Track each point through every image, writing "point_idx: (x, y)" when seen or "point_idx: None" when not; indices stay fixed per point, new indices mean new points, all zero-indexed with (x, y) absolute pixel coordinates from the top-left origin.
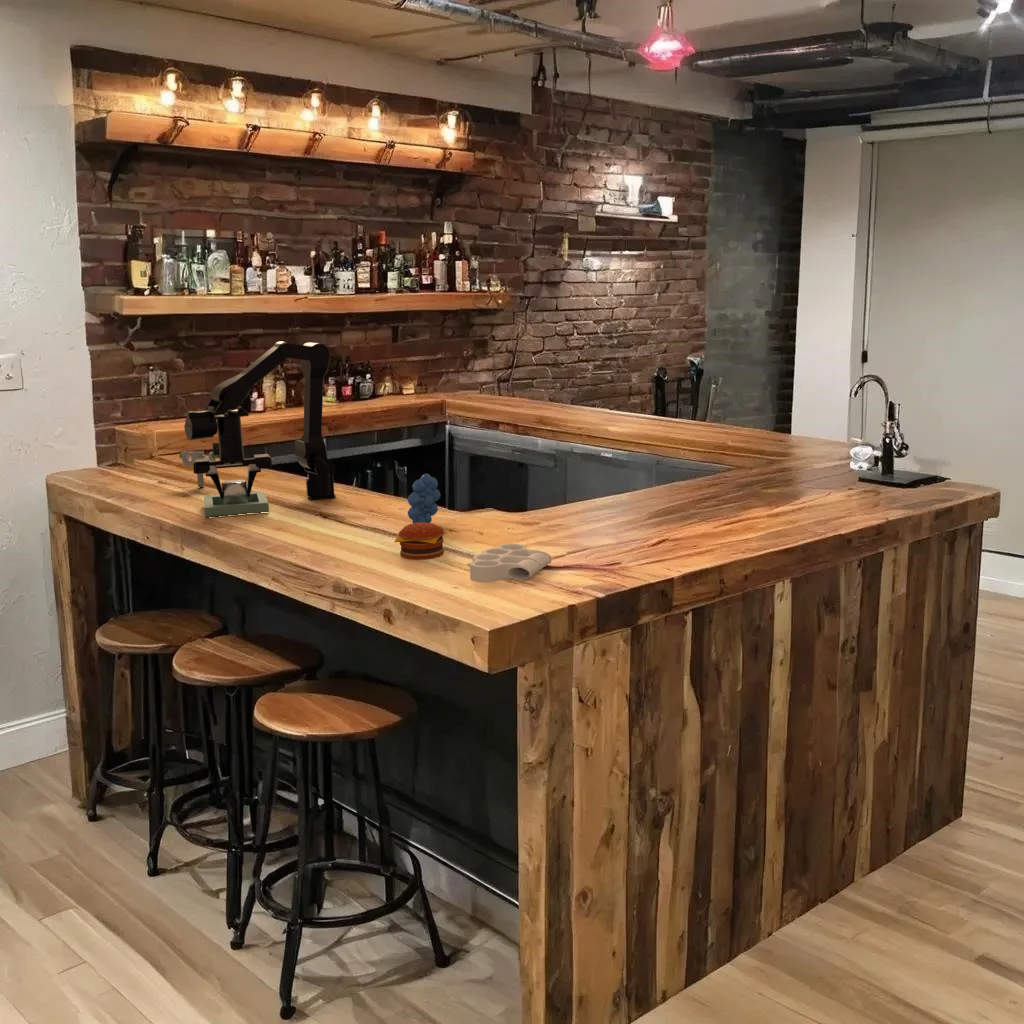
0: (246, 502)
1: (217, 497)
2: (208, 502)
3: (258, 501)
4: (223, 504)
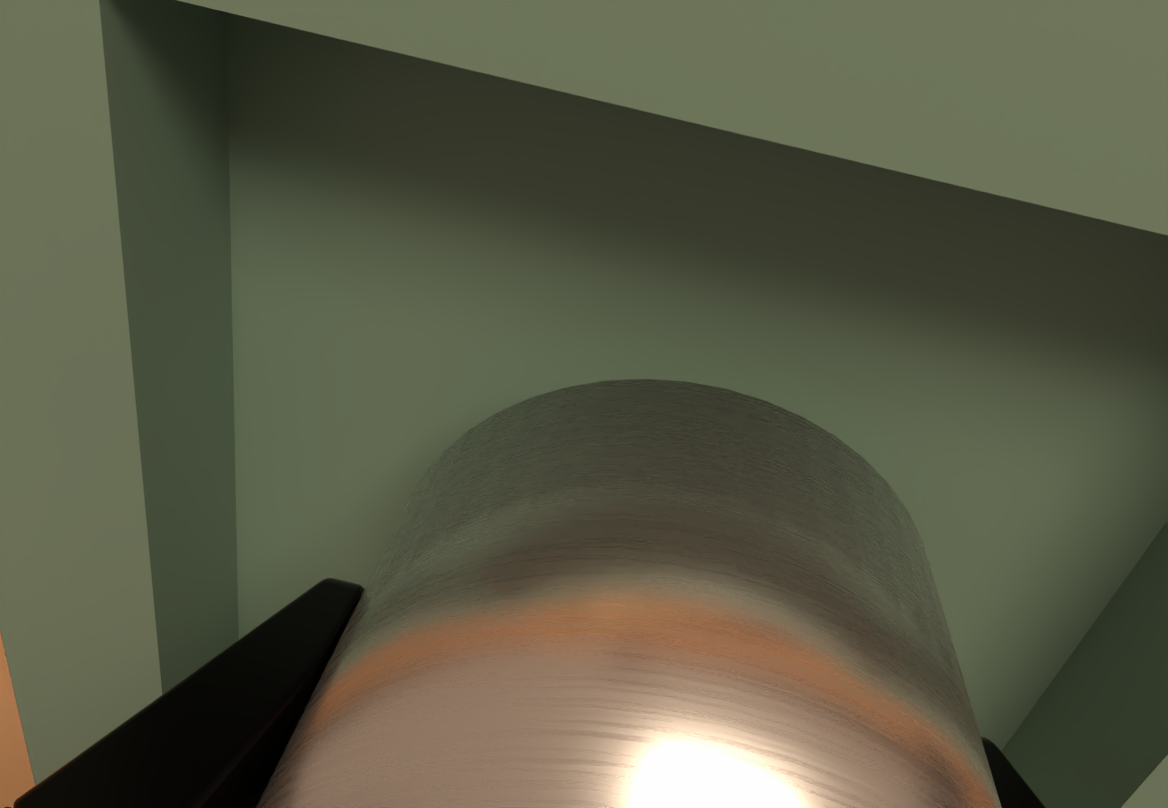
0: (1055, 226)
1: (279, 15)
2: (68, 579)
3: (1071, 777)
4: (483, 104)
